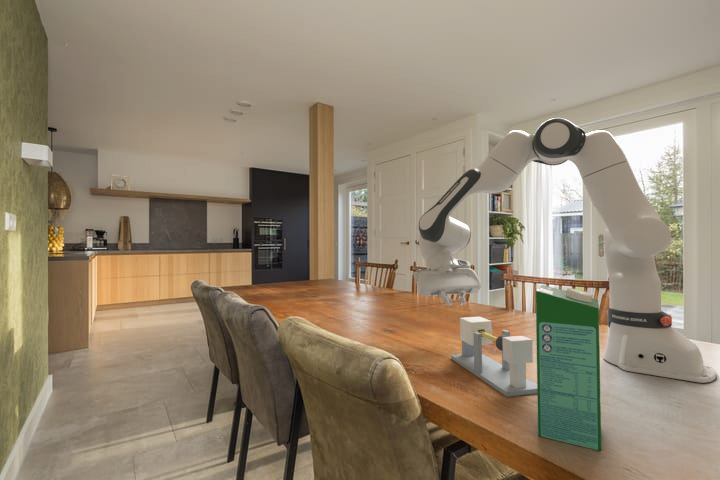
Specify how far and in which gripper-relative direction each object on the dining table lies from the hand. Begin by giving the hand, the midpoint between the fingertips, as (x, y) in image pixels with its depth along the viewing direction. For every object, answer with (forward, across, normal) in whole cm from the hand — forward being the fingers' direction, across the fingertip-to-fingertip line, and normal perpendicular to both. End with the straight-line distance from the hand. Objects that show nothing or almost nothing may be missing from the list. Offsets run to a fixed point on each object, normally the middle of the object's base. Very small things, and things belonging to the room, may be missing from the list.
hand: (456, 304), depth 109 cm
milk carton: (+43, -2, -22) cm, 48 cm away
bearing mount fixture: (+23, 0, -3) cm, 23 cm away
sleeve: (+14, 0, -2) cm, 14 cm away
